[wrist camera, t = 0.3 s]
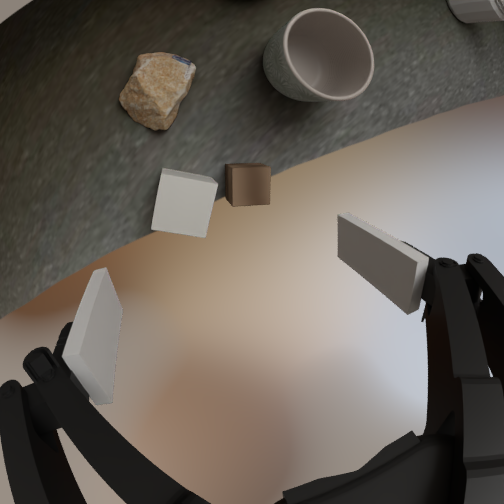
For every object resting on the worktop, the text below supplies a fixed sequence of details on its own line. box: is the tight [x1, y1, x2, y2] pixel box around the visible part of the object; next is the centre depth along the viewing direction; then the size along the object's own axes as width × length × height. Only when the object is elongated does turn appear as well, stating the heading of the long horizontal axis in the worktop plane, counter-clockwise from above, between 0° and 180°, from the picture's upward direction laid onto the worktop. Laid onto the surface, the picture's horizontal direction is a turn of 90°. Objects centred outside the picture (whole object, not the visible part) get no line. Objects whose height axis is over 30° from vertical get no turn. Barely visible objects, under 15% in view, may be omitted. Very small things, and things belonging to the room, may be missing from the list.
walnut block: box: [225, 163, 271, 207], centre depth 39 cm, size 5×5×5 cm
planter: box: [263, 8, 374, 102], centre depth 31 cm, size 12×12×11 cm
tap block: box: [151, 168, 218, 238], centre depth 37 cm, size 7×7×6 cm
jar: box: [447, 0, 504, 23], centre depth 27 cm, size 10×10×18 cm
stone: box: [119, 52, 196, 130], centre depth 31 cm, size 8×10×4 cm
